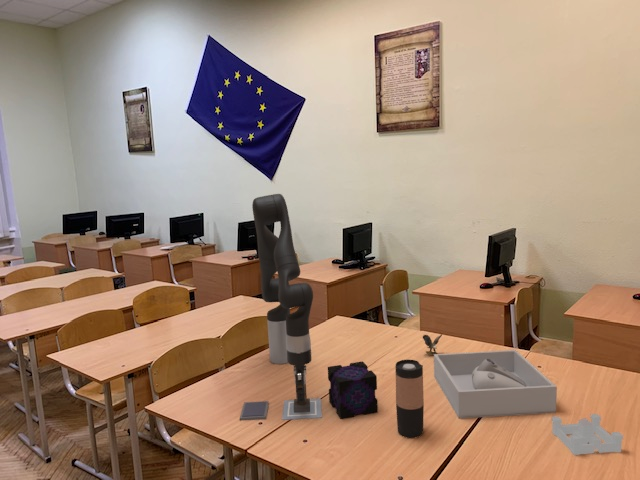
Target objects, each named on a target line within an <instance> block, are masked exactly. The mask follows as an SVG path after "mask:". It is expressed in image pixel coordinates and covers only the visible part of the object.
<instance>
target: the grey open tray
mask: <svg viewBox="0 0 640 480" xmlns="http://www.w3.org/2000/svg"><path fill="white" fill-rule="evenodd" d="M486 358H488V359H491V360H493V361H494V362H495V363H496V365H498V366H500V367H502V368H503V367H504V368H505V370H507V371H509V372H511V373H512V374H514V375H516V376H517V377H519V378H520V379H522V380H523V381H524V382H525V383H526V384H527V386H528V387H512V388H494V389H476V390H475V389H474V386H473V382H472V373H473V371H474V369H475V368H476V367H478V366H480V364H481V363H482V362H483V361H484V360H485V359H486ZM433 377H434V379H435V380H436V382H437V384H438V385H439V388H440V389H441V391H442V393H443V394H444V396H445V397H446V399H447V401H448V403H449V404H450V406H451V408H452V409H453V411H454V413H455V414H456V416H457V418H458V419H471V418H472V419H473V418H489V417H490V418H491V417H506V416H507V417H509V416H512V417H513V416H523V415H524V416H526V415H541V414H556V413H557V394H558V393H557V392H558V391H557V389H558V387H557V385H556V384H555V383H554V382H553V381H551V380H550V379H549V378H548V377H547V376H545V375H544V374H543V373H542V372H541V371H540V370H539V369H537V367H536V366H535V365H533V364H532V363H531V361H529V360H528V359H526V358H525V357H524V356H523V355H522V354H521V353H520V352H518V350H517V349H509V350H490V351H489V350H488V351H473V352H472V351H471V352H452V353H438V354H433Z"/></svg>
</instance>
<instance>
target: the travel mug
mask: <svg viewBox="0 0 640 480" xmlns="http://www.w3.org/2000/svg"><path fill="white" fill-rule="evenodd" d="M423 366H424V365H423V364H420V362H419V361H418V360H415V359H402V360H399V361H397V362H396V363H395V365H394V367H395V406H396V424H397V426H396V427H397V432H398V434H399V436H401V435H402V437H403V436H404V438H406V437H407V439H416V438H415V437H417V438H420V437H421V436H422V435H423V434H424V406H425V405H424V402H425V401H424V372H423V371H424V369H423V368H424V367H423ZM419 436H420V437H419Z"/></svg>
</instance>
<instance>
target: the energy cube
mask: <svg viewBox="0 0 640 480" xmlns="http://www.w3.org/2000/svg"><path fill="white" fill-rule="evenodd" d="M377 377H378V376H377V375H376V374H375V373H374V371H373V370H369V369H368V365H367V364H366V363H365V362H364V361H355V362H351V363H349V365H345V366H343V365H341V364H337V365H333V366H327V380H328V381H329V383H330V384H329V385H330V387H329V388H328V399H329V400H328V401H329V404H330V405H331V406H332V407H331V408H332V409H334V408H335V409H336V411H335V413H336V415H337V416H338V418H339V419H340V420H345V419H351V418H354V417H355V416H356V415H361V414H363V415H365V416H367V415H371V414H377V413H379V411H378V399H377V398H376V391H377V390H378V380H377Z"/></svg>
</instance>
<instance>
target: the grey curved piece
mask: <svg viewBox="0 0 640 480" xmlns="http://www.w3.org/2000/svg"><path fill="white" fill-rule="evenodd" d="M472 382H473V386H474V389H475V390H476V389H494V388H512V387H528V386H527V384H526V383H525V382H524V381H523V380H522V379H520V378H519V377H517V376H516V375H514V374H512V373H511V372H509V371H507V370H505V368H504V367H503V368H502V367H500V366H498V365H496V363H495V362H494V361H493V360H491V359H488V358H486V359H485V360H484V361H483V362H482V363H481V364H480V366H478V367H476V368H475V369H474V371H473V373H472Z"/></svg>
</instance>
